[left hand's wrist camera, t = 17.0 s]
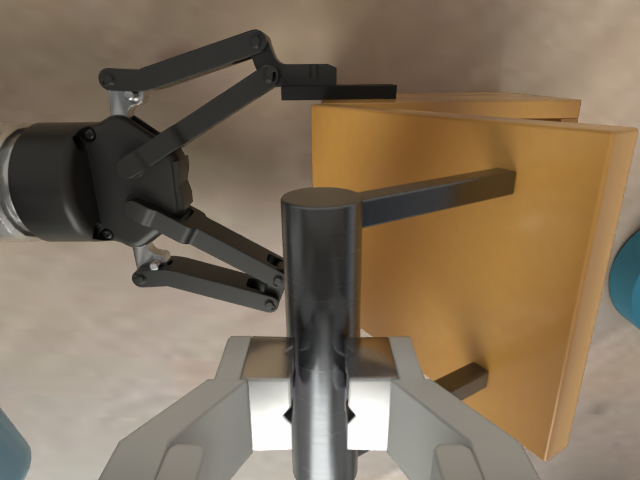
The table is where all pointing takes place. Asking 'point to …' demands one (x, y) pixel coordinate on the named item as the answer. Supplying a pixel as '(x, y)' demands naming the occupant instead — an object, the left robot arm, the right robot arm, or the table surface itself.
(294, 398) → the left robot arm
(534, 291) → the lid
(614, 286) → the blue clevis bracket
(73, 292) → the table surface
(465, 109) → the chest
